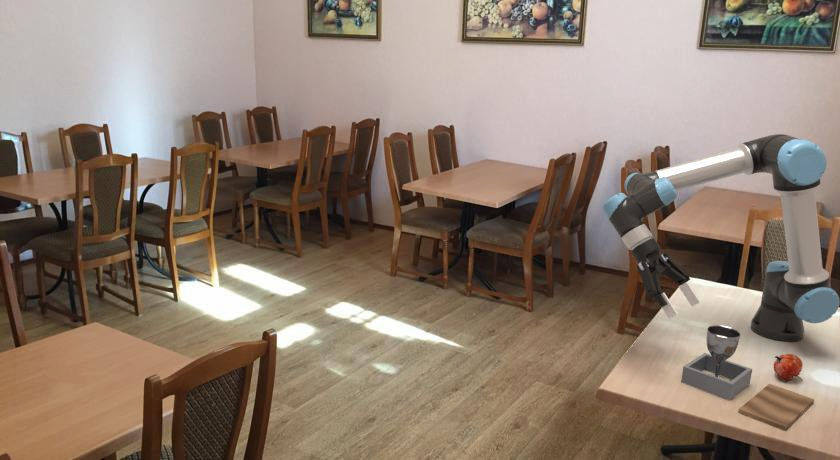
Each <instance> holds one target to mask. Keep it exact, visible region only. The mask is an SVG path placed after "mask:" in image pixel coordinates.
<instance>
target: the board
mask: <svg viewBox="0 0 840 460" xmlns="http://www.w3.org/2000/svg"><path fill="white" fill-rule="evenodd" d="M814 402H815V399H814V398H811V397H809V396H806V395H803V394H800V393H797V392H795V391H792V390H790V389H789V390H788V389H786V388H783V387H780V386H779V385H778V386H777V385H774V384H772V383H768V384H767V385H766V386H765V387H763V388H762V389H761V390H760V391H759V392H757V393H756V394H755V395H754V396H752V397H751V398H750V399H749V400H748V401H747V402H745V403H744V404H743V405H742V406H741V407H739V408H738V412H737V413H738V414H741V415H744V416H746V417H749V418H751V419H753V420H754V419H755V420H756V421H759V422H762V423H764V424H767V425H769V426H772V427H774V428H778V429H780V430H782V431H786V430H788V429H789V427H791V426H792V425H793V424H794V423H795V422H796V421H797V419H799V418H800V416H802V415H803V414H804V413H805V412H806V411H807V410H808V409H809V408H810V407H811V406H812V405H813V404H814Z"/></svg>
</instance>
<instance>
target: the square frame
mask: <svg viewBox="0 0 840 460" xmlns="http://www.w3.org/2000/svg"><path fill="white" fill-rule="evenodd" d="M704 371H706V372H704ZM681 372H682V373H681V378H680V379H681V381H680V382H681V383H683V384H686V385H688V386H691V387H693V388H696V389H698V390H702V391H705V392H707V393H709V394H712V395H715V396H717V397H719V398H720V397H721V398H723V399H725V400H727V401H731V400H733V398H735V396H737V395H738V394H739V393H741V392H742V391H743V390H745V389H746V388H747V387H748V386H750V384H751V379H752V374H753V368H751V367H747V366H745V365H742V364H739V363H736V362H733V361H730V360H728V359H727V360H725V361H724V362H723V363H722V364H721V367H720V370H719V374H718V377H716V376H715V375H712V374H715V372H716V363H715V360H714V358H713V357H712V355H711V354H710V353H706V352H703V353H702V354H700V355H699V356H697V357H696V358H694V359H693V360H691V361H689V362H688V363H686V364H685V365H684V366H682V371H681ZM707 372H708V373H707ZM710 373H712V374H710ZM719 376H720V377H719ZM721 377H723V378H721ZM724 378H726V379H729V380H730V381H729V380H726V379H724Z"/></svg>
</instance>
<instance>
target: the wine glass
mask: <svg viewBox="0 0 840 460" xmlns="http://www.w3.org/2000/svg"><path fill="white" fill-rule="evenodd" d="M706 329H707V330H706V340H705V341H706V348H707V351H708V353H709V354H710V355H712V357H713V358H714V360H715V363H716V372H715V373H714V376H716V377H718V378H719V375H718V374H719V370H720V367H721V364H722V363H723V362H724V361H725V360H727V361H728V359H730V358H732V357H733V356H734V354H735V353H736V351H737V348H738V346H739V342H740V339H741V333H740V331H738V330H737V329H735V328H733V327H731V326H730V327H729V326H725V325H715V324H714V325H709V326H708V327H707V328H706Z"/></svg>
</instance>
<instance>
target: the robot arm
mask: <svg viewBox="0 0 840 460" xmlns="http://www.w3.org/2000/svg"><path fill="white" fill-rule="evenodd" d="M826 169H827V157H826V153H824V150H823V149H822V148H821V147H820V146H819V145H817V144H816V143H813V142H812V141H810V140H808V139H803V138H798V137H795V136H792V135H787V134H783V133H781V134H780V133H779V134H777V133H776V134H771V135H766V136H762V137H759V138H755V139H752V140H748V141H744V142H741V143H739V144H738V146H737V147H736V148H732V149H729V150H726V151H722V152H719V153H715V154H711V155H707V156H705V157H700V158H697V159H692V160H689V161H686V162H683V163H679V164H675V165H671V166H668V167H664V168H661V169H657V170H654V171H649V172H645V173H642V172H634V173H631V174H629V175H628V176H627V178H626V179H625V180H624V190H625V192H626V193H627V194H628V196H627V195H626V194H625V193H623V192H619V193H617V194H616V195H612V196H611V197H610V198H608V199H607V200H606V201H605V202H604V203H603V204H602V210H603V212H604V214H605V216H606V217H607V219H608V220H609V222H610V223H611V226H612V227H613V228H614V229H615V231H616V232H617V234H618V235H619V237H620V238H621V239H622V242H623V243H624V245H625V246H626V247H627V249H628V250H629V251H630V254H631V255H632V257H633V258H634V259H635V260H634V261H636V262H637V264H636V268H637V270H638V272H639V273H640V277H641V280H642V283H643V286H644V289H645V293H646V295H647V297H648V298H650V299H651V300H653V299H655V300H656V301H657V303H658V304H659V306H660V307H661V308H662V311H663V312H664V313H665V315H666V317H667V318H668V319H671V318H674V316H676V315H678V314H679V313H678V311H677V310H676V307H674V305H673V304H672V302H671V301H670V299H669V298H668V296H667V295H666V293H665V292H662V286H661V279H660V274H662V275H665V276H666V277H668V278H669V279H671V280H672V281H673V282H675V283H676V284H678V285H679V286H678V288H679V290H680V291H681V292H682V294H683V296H684V297H685V298H686V301H688V303H689V305H690V306H691V307H694V306H696V305H698V304H700V303H701V300H700V298H699V297H698V296H697V293H696V292H695V291H694V289H693V288H692V286H691V285H690V283H689V281H690V280H691V278H690V276H689V274H688V273H687V272H686V271H684V269H682V267H680V265H678V264H677V263H676V262H675V261H674V260H673V259H672V258H671V257H670V255H669V254H668V253H667V252H664V253H662V254H660V253H659V251H661V245H659V243H658V241H657V240H656V238H653V234H652V233H651V231H650V229H649V228H648V227H647V225H646V224H645V223H644V222H645V221H643V219H646V218H647V217H648V216H650V215H652V214H654V213H655V212H658V211H659V210H661V209H663V208H665V207H667V206H669V204H671V203H673V202H674V201H675V200H676V199H677V198H678V192H677V191H681V190H684V189H688V188H692V187H695V186H699V185H704V184H706V183H710V182H715V181H718V180H721V179H726V178H729V177H733V176H737V175H741V174H746V175H747V176H749V175H750V176H751V175H754V174H759V173H760V174H761V173H764V174H765V173H767V174H770V175H772V185H773V190H774V191H776V192H777V193H779V194H780V201H781V209H782V210H781V211H782V220H783V227H784V236H785V237H784V238H785V247H786V254H787V255H786V256H787V260H786V261H785V260H773V261H770V262H769V263H768V265H767V266H766V267H767V268H766V270H765V276H764V277H765V278H764V281H763V288H762V294H761V295H762V296H761V301H760V305H759V307H758V309H756V310H757V311H756V312H755V313H754V315H753V317H752V319H751V322H750V329H751V331H753V332H754V333H756V334H757V335H760V336H762V337H764V338H767V339H771V340H775V341H780V342H797V341H801V340H803V339H804V334H805V326H804V322H807V323H809V324H820V323H824V322H826V321H828V320H829V319H831V318H832V317H833V315H836V313H837V311H838V310H839V307H840V297H839V294H838V293H837V292H836V290H835V289H833V288H831V279H830V278H831V277H830V272H829V271H827V270H826V269H825V268H824V267H823V259H822V250H821V249H822V248H821V238H820V229H819V220H818V210H817V209H818V207H817V199H816V190H817V189H818V188H819V187H820V186H821V178H822V176H823V174H825V172H826Z"/></svg>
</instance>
